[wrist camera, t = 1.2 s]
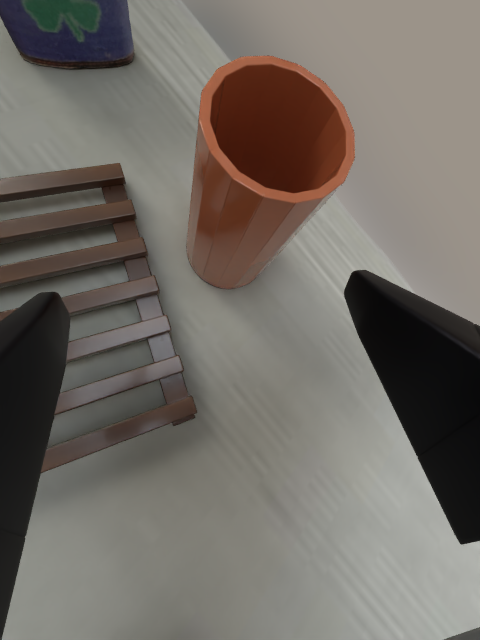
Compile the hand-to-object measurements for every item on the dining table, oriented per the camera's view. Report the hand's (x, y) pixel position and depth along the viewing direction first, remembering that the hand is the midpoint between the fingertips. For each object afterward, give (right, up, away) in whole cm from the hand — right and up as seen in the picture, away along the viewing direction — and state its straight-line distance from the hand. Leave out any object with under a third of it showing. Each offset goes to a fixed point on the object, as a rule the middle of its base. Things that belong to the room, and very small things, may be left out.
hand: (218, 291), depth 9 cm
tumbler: (0, +5, +16) cm, 16 cm away
